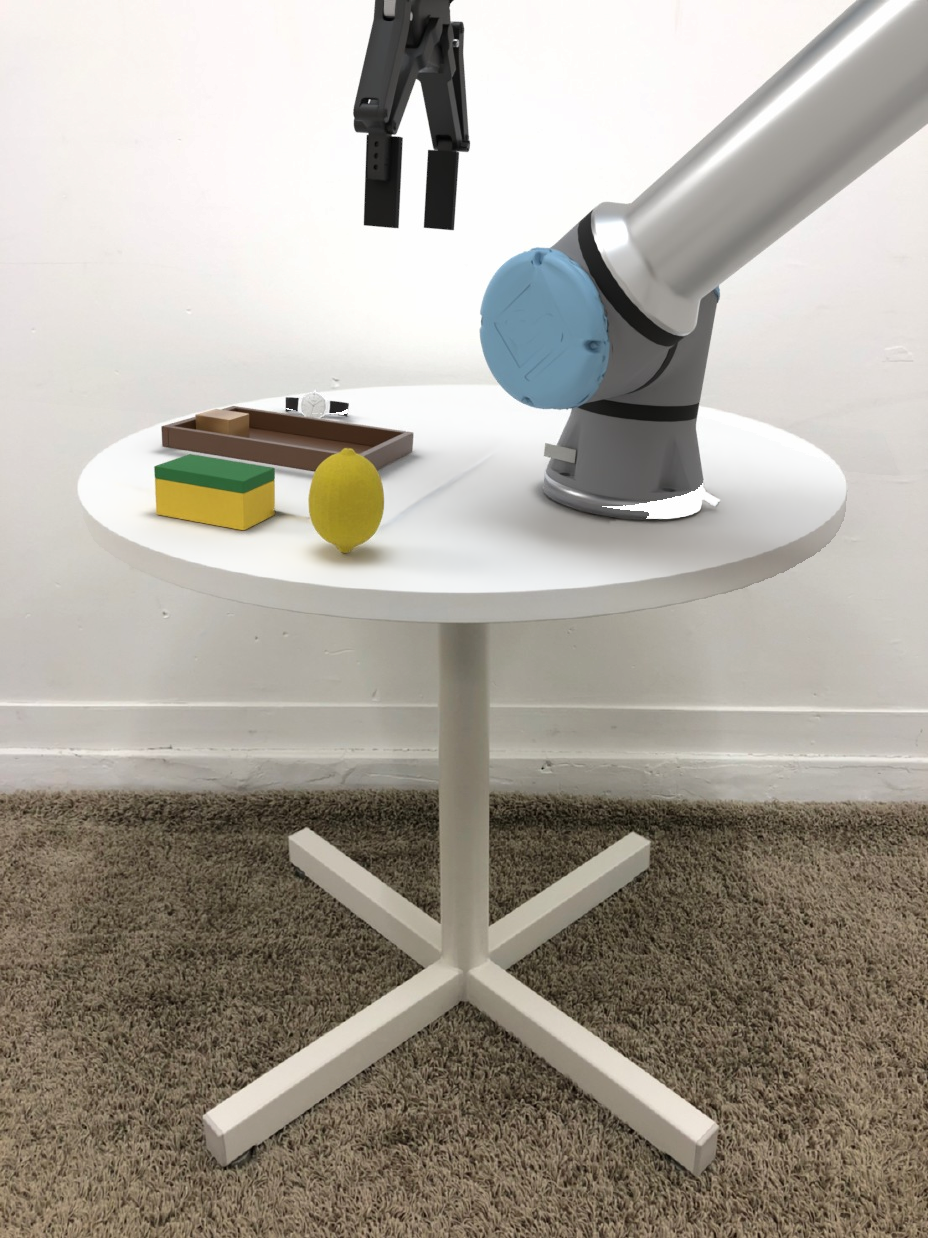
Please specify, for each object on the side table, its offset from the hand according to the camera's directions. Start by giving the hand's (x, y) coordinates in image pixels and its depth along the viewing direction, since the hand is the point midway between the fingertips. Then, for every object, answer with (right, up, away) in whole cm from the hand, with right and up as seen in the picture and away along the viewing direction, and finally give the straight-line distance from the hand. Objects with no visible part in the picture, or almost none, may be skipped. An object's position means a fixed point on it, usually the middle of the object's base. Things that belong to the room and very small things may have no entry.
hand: (412, 228), depth 83 cm
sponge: (-16, -25, -4) cm, 30 cm away
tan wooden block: (-21, -14, +19) cm, 32 cm away
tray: (-13, -17, +17) cm, 27 cm away
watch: (-13, -9, +34) cm, 38 cm away
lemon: (-5, -29, -10) cm, 31 cm away
